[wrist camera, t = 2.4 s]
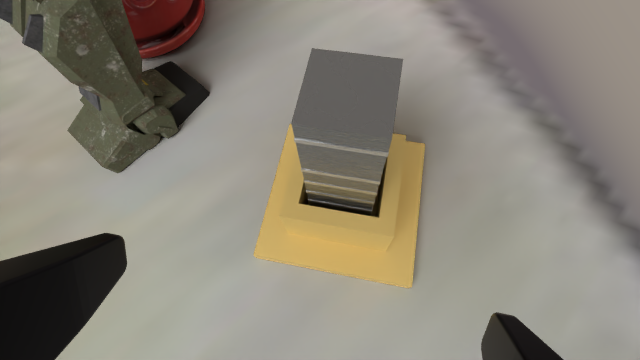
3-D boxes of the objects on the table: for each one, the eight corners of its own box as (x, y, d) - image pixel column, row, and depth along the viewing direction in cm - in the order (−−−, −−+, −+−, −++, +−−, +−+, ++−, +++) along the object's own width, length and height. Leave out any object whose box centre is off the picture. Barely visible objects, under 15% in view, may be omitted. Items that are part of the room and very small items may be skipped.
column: (368, 226, 24) (393, 140, 13) (311, 216, 25) (289, 124, 14) (375, 174, 26) (404, 58, 15) (322, 165, 26) (311, 47, 15)
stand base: (408, 288, 24) (427, 277, 19) (256, 257, 25) (237, 240, 20) (422, 149, 28) (439, 112, 23) (291, 130, 29) (282, 91, 24)
